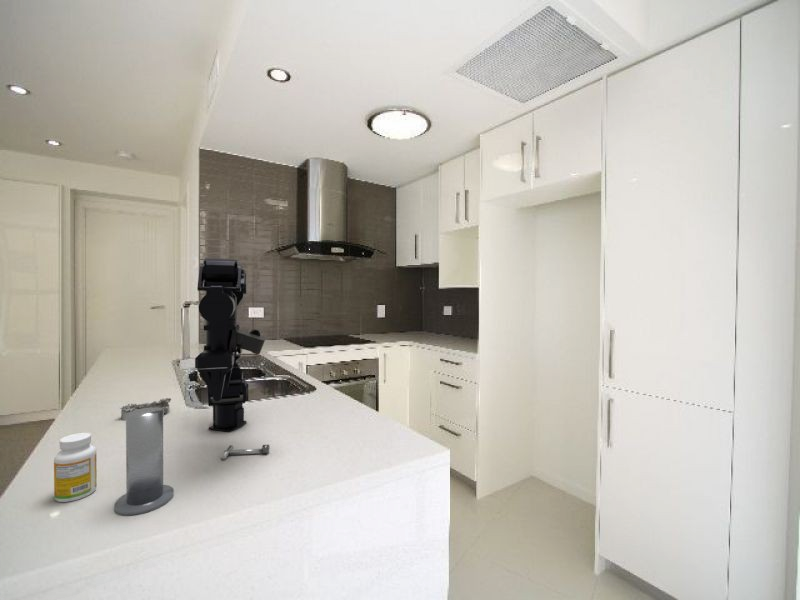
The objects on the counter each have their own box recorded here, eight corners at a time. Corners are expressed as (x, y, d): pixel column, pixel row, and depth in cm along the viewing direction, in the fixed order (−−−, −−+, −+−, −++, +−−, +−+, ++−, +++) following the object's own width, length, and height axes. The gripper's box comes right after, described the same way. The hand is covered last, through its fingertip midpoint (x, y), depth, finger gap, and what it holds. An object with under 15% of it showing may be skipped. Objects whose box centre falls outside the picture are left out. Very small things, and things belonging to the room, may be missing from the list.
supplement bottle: (71, 486, 65) (71, 431, 65) (104, 485, 65) (104, 430, 65) (45, 503, 59) (44, 444, 59) (80, 502, 60) (80, 443, 60)
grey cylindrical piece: (119, 500, 59) (119, 414, 59) (152, 485, 64) (151, 405, 64) (137, 508, 57) (137, 419, 57) (170, 493, 62) (169, 410, 61)
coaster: (100, 511, 57) (100, 507, 57) (146, 485, 65) (146, 481, 65) (143, 518, 56) (143, 515, 56) (184, 491, 64) (184, 487, 64)
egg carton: (173, 411, 105) (173, 397, 105) (158, 420, 98) (158, 405, 98) (133, 412, 105) (134, 397, 104) (115, 421, 97) (116, 405, 97)
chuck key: (220, 460, 75) (220, 451, 75) (228, 450, 80) (228, 441, 80) (265, 458, 76) (266, 449, 76) (271, 448, 81) (271, 440, 81)
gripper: (260, 322, 70) (260, 404, 70) (265, 316, 88) (265, 381, 88) (194, 323, 66) (194, 409, 67) (213, 316, 84) (213, 384, 85)
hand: (221, 394), depth 77 cm, fingers open, 9 cm apart
